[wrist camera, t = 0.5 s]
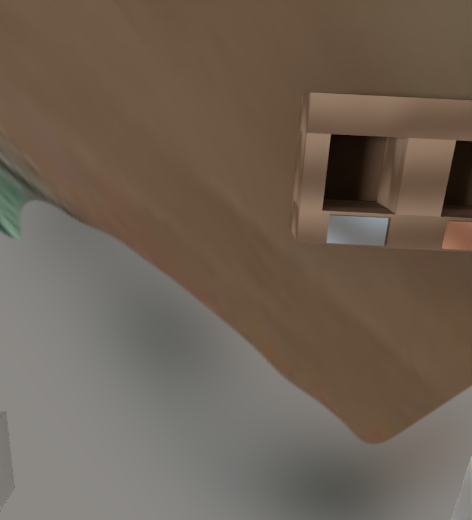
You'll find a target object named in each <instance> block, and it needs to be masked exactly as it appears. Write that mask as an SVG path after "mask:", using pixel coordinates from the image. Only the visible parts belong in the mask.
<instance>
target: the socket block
mask: <svg viewBox="0 0 472 520" xmlns="http://www.w3.org/2000/svg"><path fill="white" fill-rule="evenodd" d="M331 134H339V135H359V136H379V137H386V144H385V150H384V157H383V163H382V170H381V176H380V183H379V189H378V196H377V202H376V201H356V200H336V199H324V190H325V182H326V173H327V164H328V155H329V147H330V138H331ZM456 140H461V141H472V101H471V100H451V99H431V98H410V97H390V96H369V95H349V94H329V93H308V94H305V95H302V101H301V112H300V123H299V134H298V145H297V156H296V168H295V179H294V190H293V201H292V212H291V223H290V228H291V231H292V233H293V236H294V238H295V241H296V243H297V244H315V245H335V246H355V247H375V248H395V249H415V250H435V251H456V252H472V206H457V205H443V202H444V197H445V193H446V188H447V183H448V178H449V173H450V168H451V163H452V159H453V154H454V149H455V144H456Z"/></svg>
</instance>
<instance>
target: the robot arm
mask: <svg viewBox="0 0 472 520" xmlns="http://www.w3.org/2000/svg"><path fill="white" fill-rule="evenodd" d="M14 488H15V486H14V478H13V469H12V460H11V451H10V441H9V433H8V423H7V415H6V412H4V411H0V511H1V509H2V508H3V506H4V504H5V503H6V501H7V500H8V498H9V496H10V494H11V493H12V491H13V490H14ZM451 520H472V457H471V460H470V463H469V466H468V469H467V472H466V475H465V479H464V482H463V485H462V487H461V491H460V494H459V497H458V500H457V503H456V506H455V509H454V512H453V515H452V518H451Z"/></svg>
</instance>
